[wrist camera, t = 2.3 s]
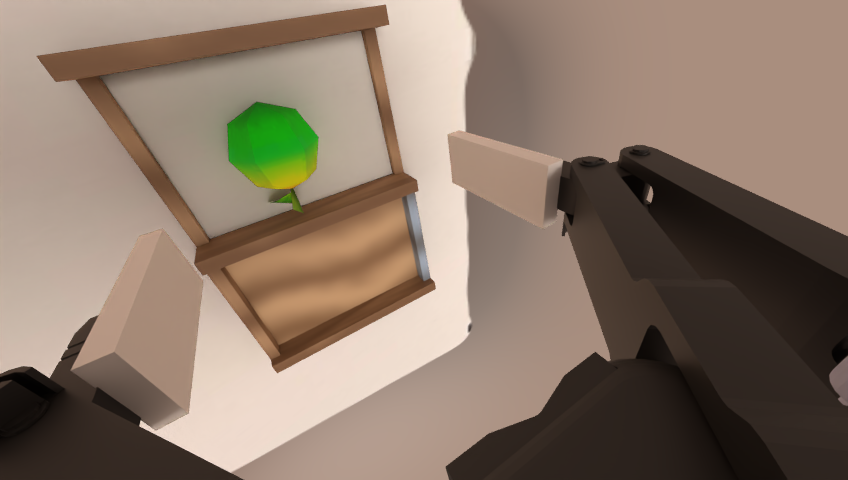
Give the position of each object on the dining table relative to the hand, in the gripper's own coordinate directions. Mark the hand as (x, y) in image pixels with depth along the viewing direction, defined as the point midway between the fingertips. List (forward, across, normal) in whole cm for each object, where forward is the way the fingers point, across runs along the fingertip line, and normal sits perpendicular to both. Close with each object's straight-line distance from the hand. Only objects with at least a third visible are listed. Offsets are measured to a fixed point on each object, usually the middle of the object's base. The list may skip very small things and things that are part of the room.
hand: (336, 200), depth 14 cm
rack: (+16, 0, -7) cm, 17 cm away
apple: (+16, -1, -1) cm, 16 cm away
